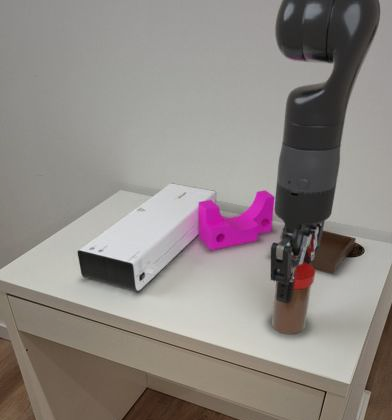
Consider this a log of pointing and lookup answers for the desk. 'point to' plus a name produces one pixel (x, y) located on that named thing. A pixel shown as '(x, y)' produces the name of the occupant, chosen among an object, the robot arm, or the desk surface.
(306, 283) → the lid
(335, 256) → the tray
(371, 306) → the desk surface
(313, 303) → the desk surface
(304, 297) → the jar
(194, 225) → the laminator
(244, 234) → the toy block
